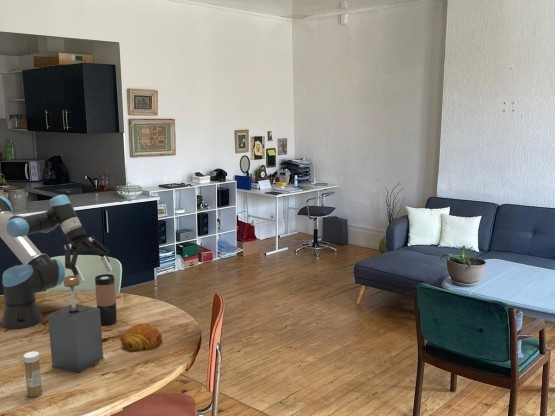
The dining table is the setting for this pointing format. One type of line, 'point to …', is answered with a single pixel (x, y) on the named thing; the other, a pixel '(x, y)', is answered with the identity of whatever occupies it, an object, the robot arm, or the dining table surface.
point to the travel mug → (106, 299)
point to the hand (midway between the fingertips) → (96, 276)
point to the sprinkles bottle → (33, 374)
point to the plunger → (72, 289)
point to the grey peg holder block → (75, 338)
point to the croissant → (141, 337)
